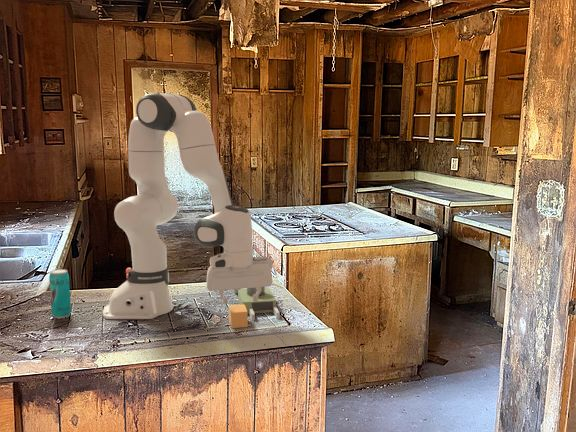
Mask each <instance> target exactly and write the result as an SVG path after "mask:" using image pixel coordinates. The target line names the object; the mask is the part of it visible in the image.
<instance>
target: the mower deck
mask: <svg viewBox="0 0 576 432" xmlns="http://www.w3.org/2000/svg"><path fill="white" fill-rule="evenodd" d="M256 292H257V289H256V288H244V289H240V290H238V294H237V302H238V305H239V304H240V305H241V304H244V305H245V307H246V309H247V314H248V315H249V318H250V319H251V321H252V322H253V321H255V320H256V317H255V316H256V315H255V314H264V313H273V314H274V316H275V319H277V320H279V319H280V314H281V313H280V311H279V309H278V307H277V300H276V298H275V296H274V295H273V293H272V291H271V289H270V288H269V287H261V292H260V294H259V296H258V301H253V295H254V294H256Z"/></svg>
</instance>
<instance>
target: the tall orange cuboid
mask: <svg viewBox="0 0 576 432" xmlns="http://www.w3.org/2000/svg"><path fill="white" fill-rule="evenodd" d="M248 315H249V314H247V309H246V307H245V305H244V304H241V305H239V304H232V305H231V304H230V305H229V304H228V322H229V325H230V327H231V329H235V328H236V327H239V328H248V327H249V326H248V322H249V321H248ZM236 329H237V328H236Z"/></svg>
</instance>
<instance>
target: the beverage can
mask: <svg viewBox="0 0 576 432" xmlns="http://www.w3.org/2000/svg"><path fill="white" fill-rule="evenodd" d="M48 279H49V293H50V306H51V307H50V308H51V315H52V316H53V318H54V319H56V318H57V319H58V320H59V319H60V320H61V318H62V319H66V318H68V317H70V315H71V312H72V307H71V306H72V305H71V304H72V303H71V290H70V276H69V272H68V270H67V269H65V268H64V269H62V268H61V269H60V268H57V269H54V270H51V271H50V272H49V277H48ZM65 317H66V318H65ZM57 319H56V320H57Z"/></svg>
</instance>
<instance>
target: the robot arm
mask: <svg viewBox="0 0 576 432" xmlns="http://www.w3.org/2000/svg"><path fill="white" fill-rule="evenodd" d="M135 114H136V117H134V118H132V119H131V121H130V126H129V132H128V142H127V149H128V151H127V153H128V154H127V158H128V175H129V177H130V178H131V179H132V180H133V181H134V182H135V184H136V186H137V189H138V193H139V194H138V195H133V196H129V197H127V198H125V199H123V200H122V201H120V202H118V203H117V204H116V206H115V208H114V211H113V217H114V221H115V222H116V225H117V226H118V227H119V228H120V229H122V231H123V232H125V234H126V236H127V239H128V242H129V245H130V250H131V262H132V263H131V266H132V268H131V267H127V268H126V269H125V276H126V277H125V278H126V279H125V281H124V282H123V283H122V284H121V285H120V286H118V287H116V288H115V289H114V290H113V292H112V293H111V296H110V298H109V303H108V304H107V305H105V307H104V308H103V309H102V317H103V318H104V319H106V320H152V319H153V320H154V319H156V318H157V317H158V316H163V315H165V314H168V313H170V312H172V311H173V309H174V305H173V302H172V299H171V294H170V289H169V288H170V287H169V283H170V271H169V267H168V266H167V264H168V262H167V259H168V257H167V245H166V243H165V242H164V241H163V240H162V239H160V237H159V233H158V230H157V226H160V225H164V224H166V223H168V222H169V221H171V220H172V219H173V218H175V217H176V215H177V214H178V212H179V205H178V201H177V199H176V197H175V196H174V195H173V194H172V193H171V190H170V188H169V186H168V182H167V177H166V171H165V144H164V143H165V141H164V140H165V136H166V134H167V133H168V132H172V133H173V134H174V135H175V136H176V139H177V145H178V151H179V156H180V161H181V164H182V167H183V168H184V170H185V172H186V173H187V174H189V175H191V176H192V177H194V178H196V179H198V180H200V181H202V182H203V183H204V185H206V187H207V189H208V191H209V194H210V198H211V201H212V204H213V210H214V213H213V214H210V215H207V216H205V217H202V218H201V219H199V220H197V221H196V223H195V224H194V227H193V235H194V239H195V241H196V242H197V243H198V244H199V245H200V246H201V247H203V248H215V247H219V246H220V247H222V248H223V252H221V253H217V254H216V255H213V256H211V257H210V258H209V265H210V266H208V268H207V272H206V289H207V290H208V292H217V291H218V295H219V296H220V297H221V299H222V304H223V305H225V304H226V305H227V304H228V305H229V303H228V300H229V299H228V296H224V291H229V290H231V291H232V290H234V289H240V290H241V289H247V288H256V289H257V292H256V294H254V295H253V301H258V296H259V294H260V292H261V287H265V288H269V287H271V286H272V284H273V275H272V270H273V260H272V259H271V258H270V257H268V256H254V248H253V247H254V246H253V244H252V237H253V225H252V217H251V213H250V210H249V209H248V208H246V207H245V206H241V205H236V204H234V203H233V199H232V195H231V191H230V188H229V183H228V181H227V178H226V177H227V176H226V174H225V171H224V168H223V167H222V164H221V162H220V159H219V155H218V151H217V147H216V146H217V145H216V142H215V137H214V133H213V128H212V126H211V124H210V120H209V118H208V116H207V115H206V114H205V113H204V112H202V111H198V110H197V107H196V105H195V102H193V100H191V99H190V98H189V97H187V96H185V95H182V94H176V93H172V92H171V93H170V92H165V93H158V92H156V93H155V92H152V93H148V94H145V95H143V96H142V97H140V99H138V102H137V103H136V108H135Z"/></svg>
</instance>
